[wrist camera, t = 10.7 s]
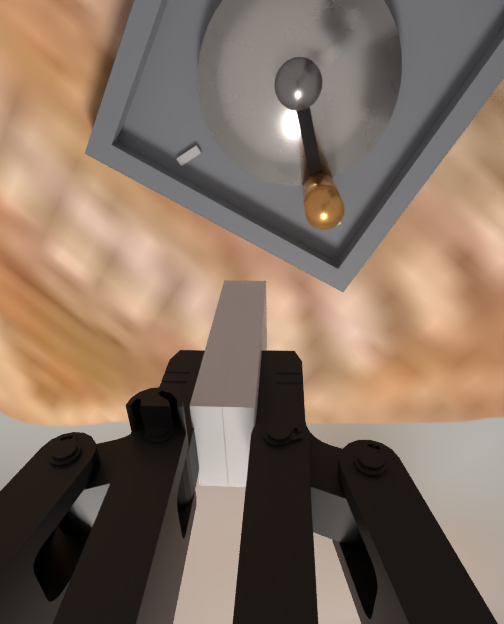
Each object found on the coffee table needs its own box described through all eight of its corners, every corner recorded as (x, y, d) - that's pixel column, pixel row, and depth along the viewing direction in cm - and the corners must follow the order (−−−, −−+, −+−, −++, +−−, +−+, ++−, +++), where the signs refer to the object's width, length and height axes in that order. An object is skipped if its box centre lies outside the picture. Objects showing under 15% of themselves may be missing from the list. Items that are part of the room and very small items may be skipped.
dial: (162, 84, 29) (133, 89, 24) (304, -102, 24) (310, -151, 19) (299, 224, 34) (301, 255, 28) (445, 91, 29) (483, 98, 23)
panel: (227, -238, 23) (221, -271, 21) (540, 2, 27) (564, -3, 25) (98, 147, 33) (84, 153, 31) (339, 278, 37) (343, 292, 35)
